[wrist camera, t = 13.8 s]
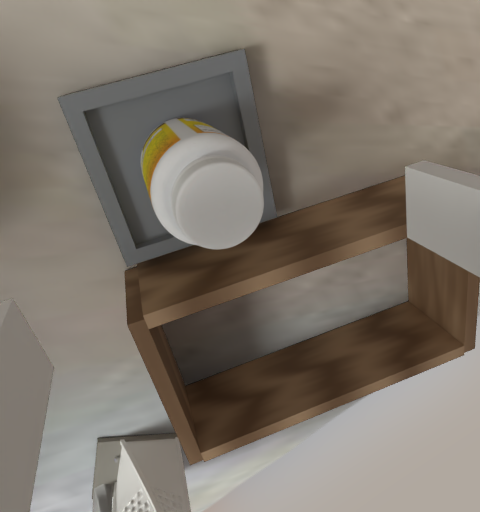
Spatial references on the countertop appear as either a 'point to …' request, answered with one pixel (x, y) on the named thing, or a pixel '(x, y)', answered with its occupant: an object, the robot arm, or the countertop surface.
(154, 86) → the tray
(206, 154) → the supplement bottle
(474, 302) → the frame
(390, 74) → the countertop surface
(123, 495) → the skyscraper
